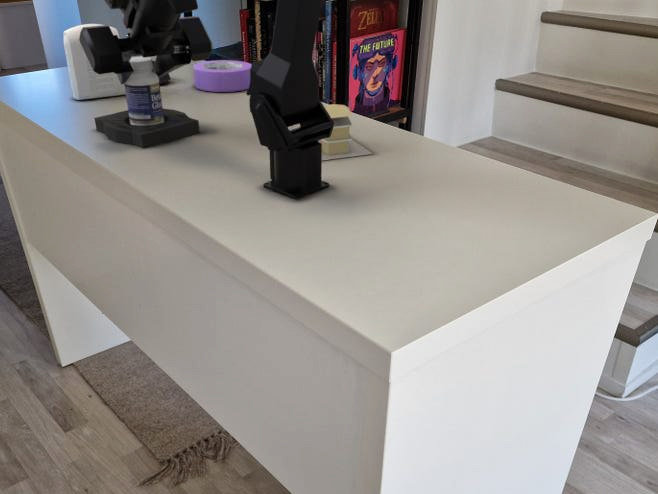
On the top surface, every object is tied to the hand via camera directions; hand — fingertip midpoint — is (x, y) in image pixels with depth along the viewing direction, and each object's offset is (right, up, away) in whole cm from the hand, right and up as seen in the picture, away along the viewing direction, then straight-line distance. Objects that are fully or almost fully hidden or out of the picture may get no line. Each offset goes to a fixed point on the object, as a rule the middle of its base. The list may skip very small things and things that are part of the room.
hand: (138, 79), depth 105 cm
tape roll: (+9, +11, +30) cm, 33 cm away
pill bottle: (+1, -6, +3) cm, 7 cm away
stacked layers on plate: (+31, -12, -2) cm, 33 cm away
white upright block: (-13, +6, +22) cm, 26 cm away
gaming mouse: (-8, +14, +34) cm, 37 cm away
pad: (+1, -7, +4) cm, 8 cm away
